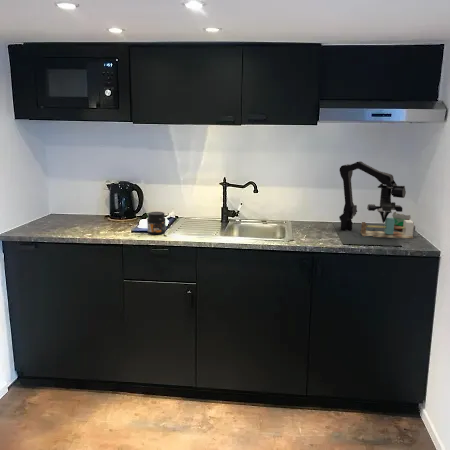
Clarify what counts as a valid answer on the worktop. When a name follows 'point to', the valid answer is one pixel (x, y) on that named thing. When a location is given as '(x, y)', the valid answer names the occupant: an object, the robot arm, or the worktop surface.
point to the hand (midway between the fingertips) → (383, 222)
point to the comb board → (382, 233)
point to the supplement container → (156, 223)
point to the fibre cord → (385, 227)
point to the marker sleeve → (389, 226)
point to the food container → (400, 219)
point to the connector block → (408, 227)
